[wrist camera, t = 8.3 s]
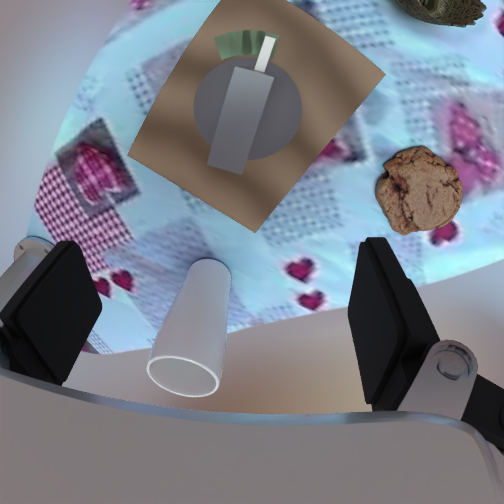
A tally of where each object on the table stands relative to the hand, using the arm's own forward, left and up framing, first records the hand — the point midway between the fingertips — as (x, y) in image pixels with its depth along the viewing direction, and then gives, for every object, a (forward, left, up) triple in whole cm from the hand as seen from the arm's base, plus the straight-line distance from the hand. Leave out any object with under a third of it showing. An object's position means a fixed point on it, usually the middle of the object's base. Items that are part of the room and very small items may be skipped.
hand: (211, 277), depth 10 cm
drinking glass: (-17, -5, -22) cm, 28 cm away
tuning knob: (+3, +2, -20) cm, 20 cm away
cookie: (+6, -17, -22) cm, 29 cm away
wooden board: (+2, +2, -22) cm, 22 cm away
